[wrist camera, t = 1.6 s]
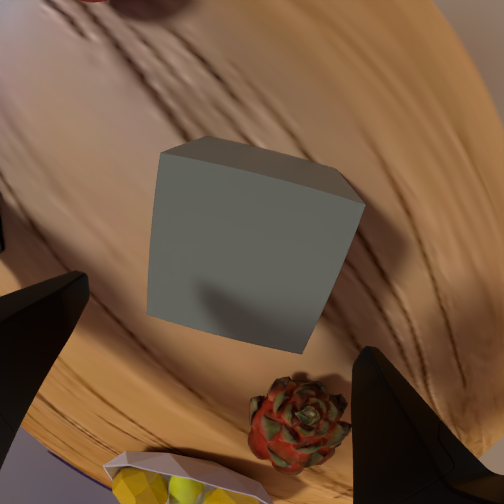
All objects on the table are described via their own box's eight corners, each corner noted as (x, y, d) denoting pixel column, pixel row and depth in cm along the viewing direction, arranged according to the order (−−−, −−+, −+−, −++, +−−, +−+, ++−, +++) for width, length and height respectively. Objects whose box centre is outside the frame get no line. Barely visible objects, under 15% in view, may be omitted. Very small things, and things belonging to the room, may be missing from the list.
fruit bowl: (131, 407, 30) (98, 484, 20) (314, 471, 34) (313, 538, 24) (104, 456, 42) (85, 501, 32) (227, 502, 46) (219, 545, 36)
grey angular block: (298, 279, 20) (301, 354, 13) (186, 250, 19) (146, 314, 13) (335, 168, 16) (365, 204, 10) (206, 136, 16) (160, 152, 10)
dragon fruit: (293, 332, 24) (312, 397, 30) (205, 392, 21) (250, 442, 27) (370, 395, 17) (364, 445, 23) (266, 477, 14) (296, 498, 21)
